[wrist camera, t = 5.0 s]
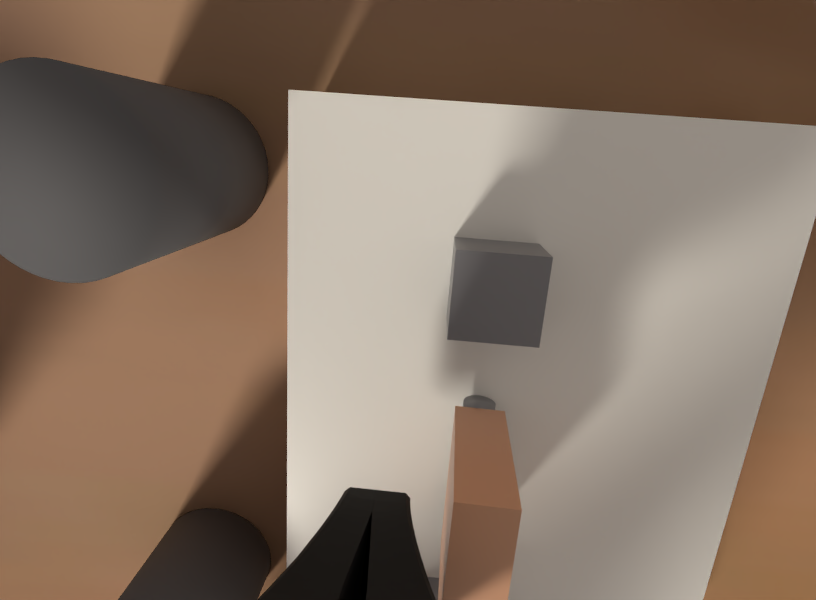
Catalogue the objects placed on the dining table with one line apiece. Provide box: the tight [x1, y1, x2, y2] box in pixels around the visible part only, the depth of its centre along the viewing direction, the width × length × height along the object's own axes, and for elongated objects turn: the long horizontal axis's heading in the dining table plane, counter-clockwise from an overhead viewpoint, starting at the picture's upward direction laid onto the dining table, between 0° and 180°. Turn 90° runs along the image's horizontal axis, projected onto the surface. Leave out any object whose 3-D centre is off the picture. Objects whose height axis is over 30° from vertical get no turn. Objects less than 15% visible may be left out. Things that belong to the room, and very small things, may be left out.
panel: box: [287, 90, 816, 600], centre depth 14 cm, size 12×18×5 cm, turn 176°
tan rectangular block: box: [438, 395, 522, 600], centre depth 12 cm, size 1×4×4 cm, turn 176°
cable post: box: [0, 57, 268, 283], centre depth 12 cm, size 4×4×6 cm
